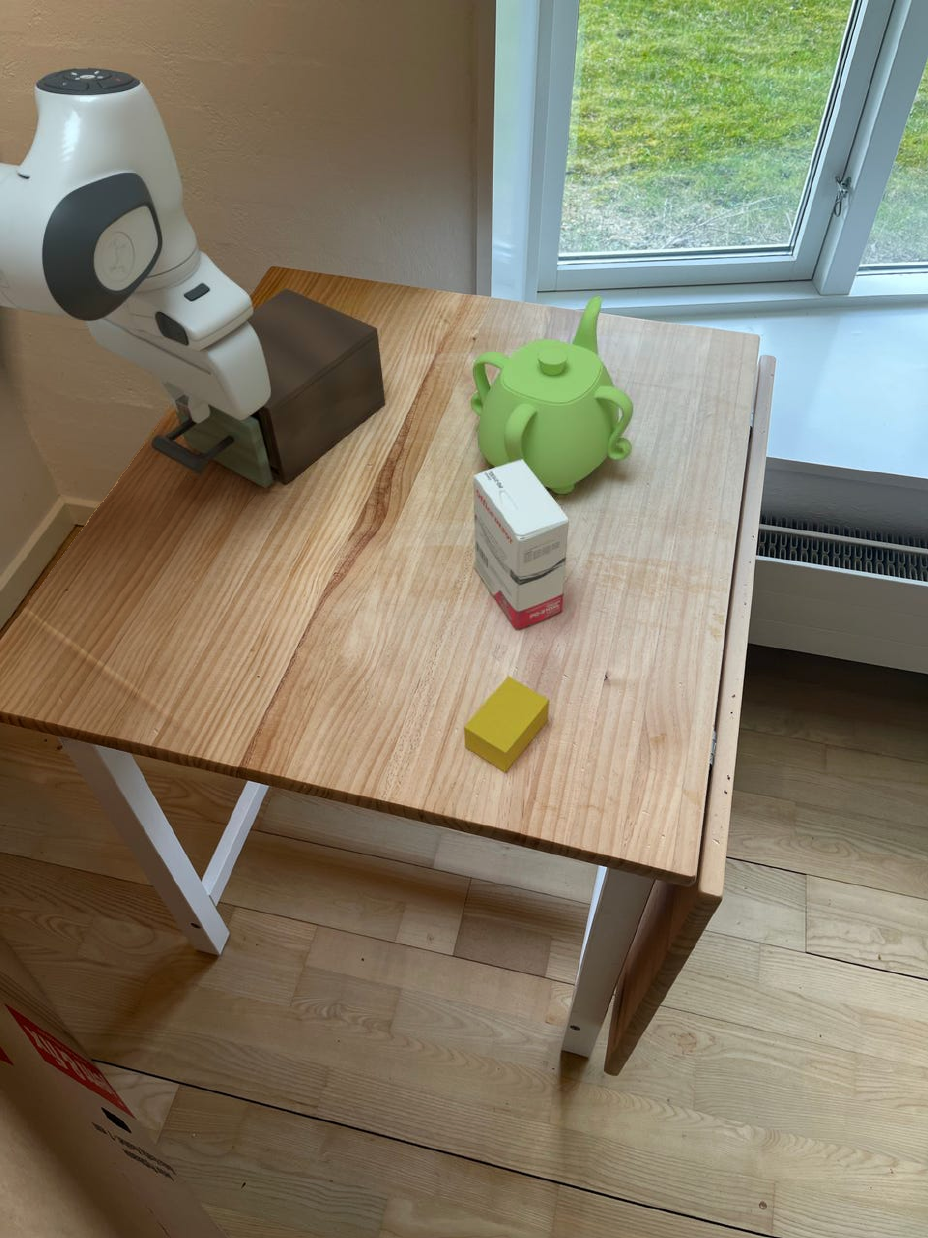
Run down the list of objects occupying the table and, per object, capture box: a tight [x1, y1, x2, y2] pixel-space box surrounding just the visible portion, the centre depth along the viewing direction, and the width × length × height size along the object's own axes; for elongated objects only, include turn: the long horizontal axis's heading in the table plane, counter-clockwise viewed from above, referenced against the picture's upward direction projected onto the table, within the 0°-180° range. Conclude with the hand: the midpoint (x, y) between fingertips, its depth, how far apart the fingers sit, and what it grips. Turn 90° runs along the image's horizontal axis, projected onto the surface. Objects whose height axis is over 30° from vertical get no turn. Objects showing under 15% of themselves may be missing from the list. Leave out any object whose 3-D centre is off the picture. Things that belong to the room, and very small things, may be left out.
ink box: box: [473, 459, 570, 630], centre depth 81 cm, size 8×5×12 cm, turn 26°
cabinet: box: [246, 287, 386, 486], centre depth 98 cm, size 16×13×10 cm
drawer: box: [151, 404, 278, 489], centre depth 95 cm, size 20×11×8 cm, turn 143°
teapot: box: [470, 295, 634, 495], centre depth 93 cm, size 16×14×13 cm
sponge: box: [463, 676, 550, 773], centre depth 75 cm, size 6×4×3 cm, turn 143°
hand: (193, 414), depth 89 cm, fingers closed
